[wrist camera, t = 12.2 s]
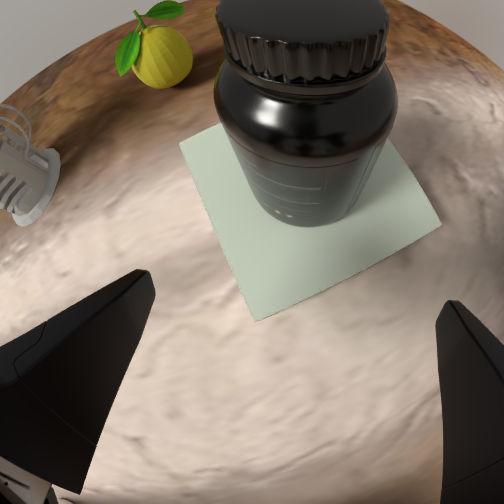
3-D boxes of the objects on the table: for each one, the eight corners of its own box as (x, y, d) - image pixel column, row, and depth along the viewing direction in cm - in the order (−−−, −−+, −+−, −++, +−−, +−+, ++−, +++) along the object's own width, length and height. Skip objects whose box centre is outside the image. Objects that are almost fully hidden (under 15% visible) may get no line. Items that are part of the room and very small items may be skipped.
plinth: (423, 236, 18) (442, 224, 15) (261, 319, 18) (254, 322, 16) (336, 101, 21) (339, 77, 18) (192, 162, 22) (178, 143, 19)
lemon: (204, 55, 24) (175, -18, 14) (211, 89, 23) (176, 6, 13) (146, 76, 25) (104, 13, 15) (145, 112, 24) (92, 43, 14)
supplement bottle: (279, 118, 18) (253, -43, 6) (374, 157, 16) (435, -1, 5) (229, 202, 17) (130, 49, 5) (333, 252, 16) (412, 121, 4)
